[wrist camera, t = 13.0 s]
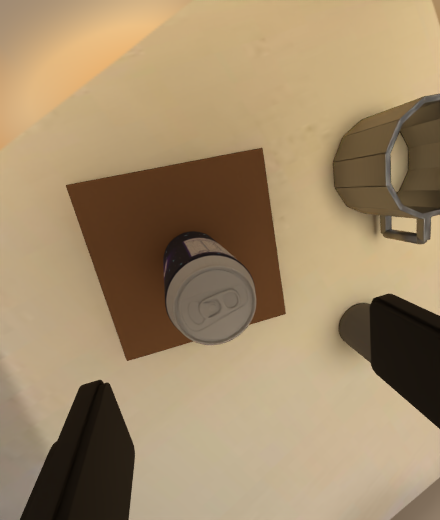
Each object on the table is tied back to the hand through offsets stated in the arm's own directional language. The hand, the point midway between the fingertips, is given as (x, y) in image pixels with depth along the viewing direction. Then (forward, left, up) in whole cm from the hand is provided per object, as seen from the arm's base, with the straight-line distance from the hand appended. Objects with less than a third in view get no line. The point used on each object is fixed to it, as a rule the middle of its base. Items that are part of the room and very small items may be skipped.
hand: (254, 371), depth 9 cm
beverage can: (0, 0, -19) cm, 19 cm away
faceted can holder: (-3, +22, -19) cm, 29 cm away
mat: (0, 0, -19) cm, 19 cm away
